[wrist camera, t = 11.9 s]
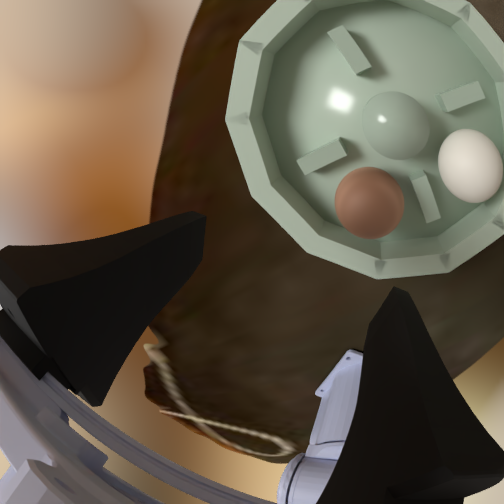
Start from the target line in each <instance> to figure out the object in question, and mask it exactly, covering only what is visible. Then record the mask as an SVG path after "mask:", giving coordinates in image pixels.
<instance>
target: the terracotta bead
mask: <svg viewBox="0 0 504 504" xmlns="http://www.w3.org/2000/svg"><path fill="white" fill-rule="evenodd" d="M335 210H336V214H337V216H338V219H339V220H340V222H341V224H342V225H343V226H344V227H345V228H346V229H347V230H348V231H349V232H350V233H352V234H353V235H355V236H357V237H360V238H364V239H378V238H381V237H384V236H386V235H388V234H389V233H391V232H392V231H393V230H394V229H395V228H396V227H397V226H398V224H399V222H400V221H401V219H402V216H403V212H404V196H403V193H402V190H401V188H400V186H399V184H398V183H397V181H396V180H395V179H394V178H393V177H392V176H391V175H390V174H389V173H387V172H386V171H384V170H382V169H379V168H375V167H361V168H358V169H355V170H353V171H351V172H350V173H348V174H347V175H346V176H345V177H344V178H343V179H342V180H341V182H340V183H339V185H338V187H337V190H336V193H335Z"/></svg>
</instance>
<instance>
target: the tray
mask: <svg viewBox="0 0 504 504" xmlns="http://www.w3.org/2000/svg"><path fill="white" fill-rule="evenodd" d="M225 121H226V124H227V126H228V129H229V132H230V135H231V138H232V141H233V144H234V147H235V149H236V152H237V155H238V158H239V161H240V164H241V167H242V170H243V173H244V176H245V179H246V181H247V184H248V187H249V190H250V193H251V196H252V197H253V198H254V199H255V200H256V201H257V202H258V203H259V204H260V205H261V206H262V207H263V208H264V209H265V210H266V211H267V212H268V213H269V214H270V215H271V216H272V217H273V218H274V219H275V220H276V221H277V222H278V223H279V224H280V225H281V226H282V227H283V228H284V229H285V230H286V231H287V232H288V233H289V234H290V235H291V236H292V238H293V239H294V240H295V241H296V242H297V243H298V244H299V245H300V246H301V247H302V248H303V249H304V250H305V251H306V252H307V253H310V254H313V255H315V256H318V257H321V258H323V259H326V260H329V261H331V262H334V263H336V264H339V265H342V266H344V267H347V268H349V269H352V270H355V271H357V272H360V273H362V274H365V275H367V276H370V277H373V278H375V279H386V278H398V277H409V276H419V275H429V274H439V273H449V272H450V271H452V270H453V269H455V268H456V267H458V266H459V265H461V264H462V263H464V262H465V261H467V260H468V259H470V258H471V257H473V256H474V255H476V254H477V253H479V252H480V251H481V250H483V249H484V248H486V247H487V246H488V245H490V244H491V243H493V242H494V241H495V240H497V239H498V238H499V237H501V236H502V235H503V234H504V43H503V42H502V40H501V39H500V38H499V36H498V35H497V34H496V33H495V31H494V30H493V29H492V28H491V26H490V25H489V24H488V23H487V22H486V20H485V19H484V18H483V17H482V16H481V15H480V13H479V12H478V11H477V10H476V9H475V8H474V7H473V6H472V5H471V4H470V3H469V2H467V1H465V0H277V1H276V2H275V3H274V4H273V5H272V6H271V7H270V8H269V9H268V10H267V11H266V12H265V13H264V14H263V15H262V16H261V17H260V19H259V20H258V21H257V22H256V23H255V24H254V25H253V26H252V27H251V28H250V29H249V31H248V32H247V33H246V34H245V35H244V36H243V37H242V38H241V40H239V45H238V50H237V55H236V60H235V66H234V71H233V77H232V82H231V88H230V94H229V100H228V106H227V112H226V118H225ZM460 129H473V130H476V131H479V132H481V133H483V134H484V135H486V136H487V137H488V138H489V139H490V140H491V141H492V142H493V143H494V144H495V146H496V147H497V149H498V151H499V153H500V156H501V159H502V163H503V177H502V182H501V184H500V187H499V189H498V190H497V192H496V193H495V194H494V195H493V196H492V197H491V198H490V199H488V200H486V201H484V202H480V203H469V202H465V201H463V200H461V199H459V198H457V197H456V196H455V195H453V194H452V193H451V192H450V191H449V190H448V188H447V187H446V186H445V184H444V182H443V180H442V178H441V175H440V172H439V167H438V155H439V151H440V148H441V145H442V143H443V142H444V140H445V139H446V138H447V137H448V136H449V135H450V134H451V133H453V132H455V131H457V130H460ZM361 167H375V168H379V169H382V170H384V171H386V172H387V173H389V174H390V175H391V176H392V177H393V178H394V179H395V180H396V181H397V183H398V184H399V186H400V188H401V190H402V193H403V196H404V212H403V216H402V219H401V221H400V222H399V224H398V226H397V227H396V228H395V229H394V230H393V231H392V232H391V233H389V234H388V235H386V236H384V237H381V238H378V239H364V238H360V237H357V236H355V235H353V234H352V233H350V232H349V231H348V230H347V229H346V228H345V227H344V226H343V225H342V224H341V222H340V220H339V219H338V216H337V214H336V210H335V193H336V190H337V187H338V185H339V183H340V182H341V180H342V179H343V178H344V177H345V176H346V175H347V174H348V173H350V172H351V171H353V170H355V169H358V168H361Z"/></svg>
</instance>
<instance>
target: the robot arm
mask: <svg viewBox="0 0 504 504" xmlns="http://www.w3.org/2000/svg"><path fill="white" fill-rule="evenodd" d="M205 225H206V216H205V215H202V214H199V213H196V212H193V211H191V212H186V213H183V214H179V215H176V216H173V217H169V218H166V219H163V220H160V221H157V222H154V223H151V224H148V225H144V226H141V227H138V228H134V229H131V230H128V231H124V232H121V233H117V234H113V235H109V236H105V237H100V238H95V239H90V240H85V241H78V242H71V243H65V244H54V245H39V246H11V245H8V246H6V247H4V248H3V249H1V250H0V304H1V306H2V308H3V309H2V310H0V449H1V451H2V452H3V454H4V455H5V457H6V458H7V460H8V461H9V463H10V464H11V466H10V467H9V469H8V470H7V472H6V473H5V474H4V475H3V477H2V478H1V480H0V504H165V503H163V502H161V501H159V500H157V499H155V498H153V497H151V496H149V495H148V494H146V493H144V492H142V491H140V490H139V489H137V488H135V487H133V486H132V485H130V484H129V483H127V482H125V481H124V480H122V479H121V478H119V477H117V476H116V475H114V474H113V473H111V472H110V471H108V470H107V469H105V468H104V467H103V465H104V464H105V462H106V461H107V460H108V457H107V455H105V454H104V453H103V452H101V451H100V450H99V449H97V448H96V447H94V446H93V445H92V444H91V443H90V442H88V441H87V440H86V439H84V438H83V437H82V436H81V435H79V434H78V433H77V432H76V431H75V430H74V429H72V428H71V427H70V426H69V422H68V421H69V418H68V416H69V417H70V418H71V419H73V420H74V421H75V422H76V423H77V424H79V425H80V426H81V427H82V428H84V429H85V430H86V431H87V432H88V433H90V434H91V435H92V436H94V437H95V438H96V439H98V440H99V441H100V442H102V443H103V444H104V445H106V446H107V447H108V448H110V449H111V450H113V451H114V452H116V453H117V454H119V455H120V456H122V457H123V458H125V459H126V460H128V461H129V462H131V463H133V464H134V465H136V466H137V467H139V468H140V469H142V470H144V471H146V472H148V473H149V474H151V475H152V476H154V477H156V478H158V479H160V480H161V481H163V482H165V483H167V484H169V485H171V486H173V487H175V488H177V489H179V490H181V491H183V492H185V493H187V494H189V495H192V496H194V497H196V498H198V499H200V500H203V501H205V502H208V503H210V504H463V502H464V497H467V496H470V495H473V494H475V493H478V492H481V491H483V490H485V489H487V488H490V487H492V486H494V485H496V484H497V483H499V482H500V481H501V480H502V479H503V478H504V451H503V449H502V448H501V447H500V446H499V445H498V444H497V442H496V441H495V440H494V439H493V438H492V437H491V436H490V435H489V433H488V432H487V431H486V429H485V428H484V427H483V425H482V424H481V423H480V421H479V420H478V419H477V417H476V416H475V415H474V413H473V412H472V410H471V409H470V407H469V406H468V404H467V403H466V401H465V399H464V398H463V396H462V395H461V393H460V392H459V390H458V388H457V387H456V385H455V383H454V382H453V380H452V378H451V376H450V374H449V373H448V371H447V369H446V367H445V365H444V364H443V362H442V360H441V358H440V356H439V354H438V352H437V350H436V348H435V346H434V344H433V342H432V339H431V337H430V335H429V333H428V331H427V329H426V327H425V325H424V323H423V320H422V318H421V316H420V314H419V312H418V310H417V308H416V306H415V304H414V302H413V300H412V298H411V296H410V295H409V293H408V292H406V291H404V290H401V289H399V288H396V287H393V288H392V290H391V292H390V293H389V295H388V296H387V298H386V300H385V301H384V303H383V304H382V306H381V307H380V309H379V310H378V312H377V313H376V315H375V316H374V318H373V319H372V321H371V322H370V324H369V327H368V332H367V336H366V340H365V345H364V351H363V353H360V352H358V351H355V350H348V351H347V352H346V353H345V355H344V356H343V357H342V359H341V360H340V361H339V363H338V364H337V365H336V366H335V368H334V369H333V370H332V372H331V373H330V374H329V375H328V377H327V378H326V379H325V380H324V382H323V383H322V384H321V385H320V386H319V388H318V389H317V390H316V392H315V394H316V395H317V396H320V397H322V400H321V403H320V407H319V410H318V414H317V417H316V420H315V424H314V427H313V430H312V433H311V437H310V445H308V448H307V451H306V454H305V453H300V454H298V455H297V456H296V457H295V458H293V459H292V460H291V461H290V462H289V463H288V465H287V466H286V468H285V470H284V472H283V474H282V477H281V479H280V482H279V486H278V491H277V503H274V502H270V501H267V500H263V499H260V498H257V497H254V496H251V495H248V494H245V493H243V492H240V491H237V490H234V489H232V488H229V487H226V486H224V485H221V484H219V483H217V482H214V481H212V480H209V479H207V478H205V477H203V476H201V475H198V474H196V473H194V472H192V471H190V470H188V469H186V468H184V467H182V466H180V465H178V464H176V463H174V462H172V461H170V460H168V459H166V458H164V457H163V456H161V455H159V454H157V453H156V452H154V451H152V450H150V449H149V448H147V447H146V446H144V445H142V444H140V443H139V442H137V441H136V440H134V439H133V438H131V437H130V436H128V435H126V434H125V433H123V432H122V431H120V430H119V429H118V428H116V427H115V426H113V425H112V424H110V423H109V422H107V421H106V420H105V419H103V418H102V417H101V416H99V415H98V414H97V413H95V412H94V411H93V410H92V409H90V408H89V407H88V406H86V405H85V404H84V403H83V402H82V401H80V400H79V399H78V398H77V397H75V396H74V395H73V394H72V393H71V392H70V391H68V389H70V390H71V391H72V392H73V393H74V394H76V395H78V396H80V397H81V398H82V399H83V400H85V401H86V402H87V403H88V404H90V405H91V406H93V407H95V406H101V405H102V403H103V401H104V399H105V397H106V395H107V393H108V391H109V389H110V387H111V385H112V383H113V381H114V379H115V377H116V375H117V374H118V372H119V370H120V368H121V366H122V365H123V363H124V361H125V360H126V358H127V356H128V355H129V353H130V352H131V350H132V349H133V347H134V345H135V343H136V342H137V341H138V339H139V338H140V336H141V335H142V333H143V332H144V330H145V329H146V327H147V326H148V325H149V324H150V322H151V321H152V320H153V319H154V317H155V316H156V315H157V314H158V313H159V312H160V311H161V310H162V308H163V307H164V306H165V305H166V304H167V303H168V302H169V301H170V300H171V298H172V297H173V296H174V295H175V294H176V293H177V292H178V291H179V290H180V288H181V287H182V286H183V285H184V284H185V283H186V282H187V281H188V279H189V278H190V277H191V275H192V274H193V273H194V271H195V270H196V268H197V267H198V265H199V264H200V262H201V261H202V257H203V246H204V235H205ZM67 415H68V416H67Z"/></svg>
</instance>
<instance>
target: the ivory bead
mask: <svg viewBox="0 0 504 504" xmlns="http://www.w3.org/2000/svg"><path fill="white" fill-rule="evenodd" d="M438 167H439V172H440V175H441V178H442V180H443V182H444V184H445V186H446V187H447V188H448V190H449V191H450V192H451V193H452V194H453V195H455V196H456V197H457V198H459V199H461V200H463V201H465V202H469V203H480V202H484V201H486V200H488V199H490V198H491V197H492V196H493V195H494V194H495V193H496V192H497V190H498V189H499V187H500V184H501V182H502V177H503V163H502V159H501V156H500V153H499V151H498V149H497V147H496V146H495V144H494V143H493V142H492V141H491V140H490V139H489V138H488V137H487V136H486V135H484V134H483V133H481V132H479V131H476V130H473V129H460V130H457V131H455V132H453V133H451V134H450V135H449V136H448V137H447V138H446V139H445V140H444V142H443V143H442V145H441V148H440V151H439V155H438Z"/></svg>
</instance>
